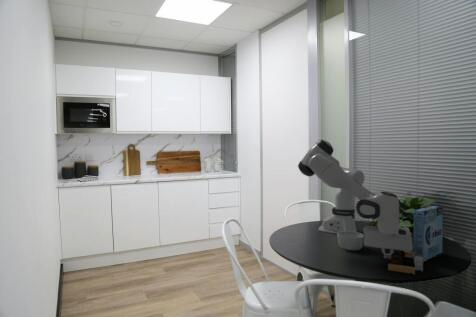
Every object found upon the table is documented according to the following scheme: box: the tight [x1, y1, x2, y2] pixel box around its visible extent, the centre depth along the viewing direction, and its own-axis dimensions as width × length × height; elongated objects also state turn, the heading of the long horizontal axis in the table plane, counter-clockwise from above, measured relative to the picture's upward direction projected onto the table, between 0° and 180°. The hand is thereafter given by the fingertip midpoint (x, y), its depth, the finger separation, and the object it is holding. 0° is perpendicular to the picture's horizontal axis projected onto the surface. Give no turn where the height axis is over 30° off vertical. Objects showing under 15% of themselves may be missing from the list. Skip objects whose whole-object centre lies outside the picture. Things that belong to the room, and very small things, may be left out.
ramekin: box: [336, 231, 365, 251], centre depth 169 cm, size 13×13×7 cm
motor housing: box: [387, 246, 424, 275], centre depth 144 cm, size 13×22×7 cm, turn 153°
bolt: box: [389, 250, 405, 265], centre depth 146 cm, size 6×5×15 cm
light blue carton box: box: [412, 205, 444, 263], centre depth 154 cm, size 20×5×23 cm, turn 126°
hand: (387, 258), depth 148 cm, fingers closed
